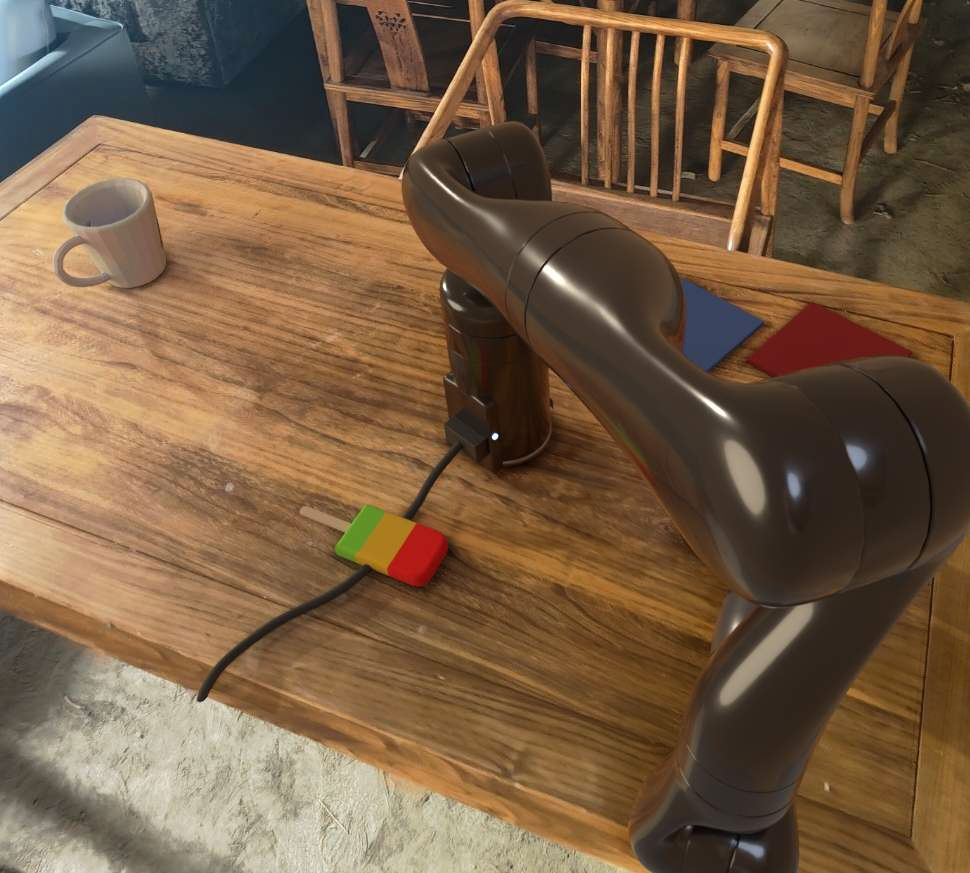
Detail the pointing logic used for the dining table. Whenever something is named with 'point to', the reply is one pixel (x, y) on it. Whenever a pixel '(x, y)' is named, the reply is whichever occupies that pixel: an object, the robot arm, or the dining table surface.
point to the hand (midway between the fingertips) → (815, 463)
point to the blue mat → (713, 327)
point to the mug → (113, 234)
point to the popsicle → (387, 543)
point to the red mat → (819, 343)
